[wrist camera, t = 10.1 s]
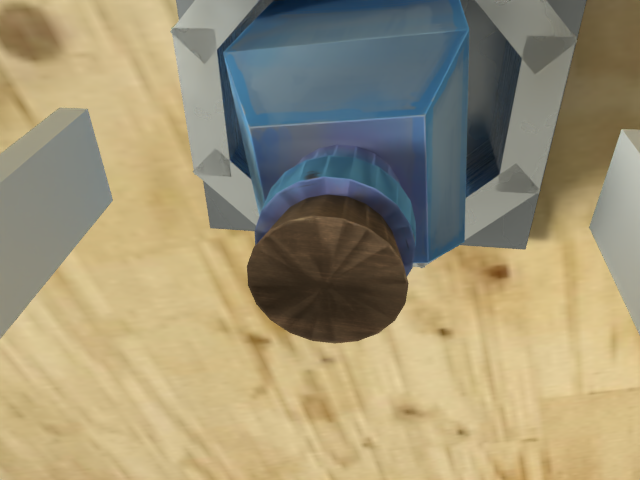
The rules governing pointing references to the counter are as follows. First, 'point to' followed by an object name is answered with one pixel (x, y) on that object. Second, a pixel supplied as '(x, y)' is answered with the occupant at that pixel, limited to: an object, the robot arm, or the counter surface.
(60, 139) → the robot arm
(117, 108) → the counter surface
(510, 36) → the flange
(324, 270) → the perfume bottle
